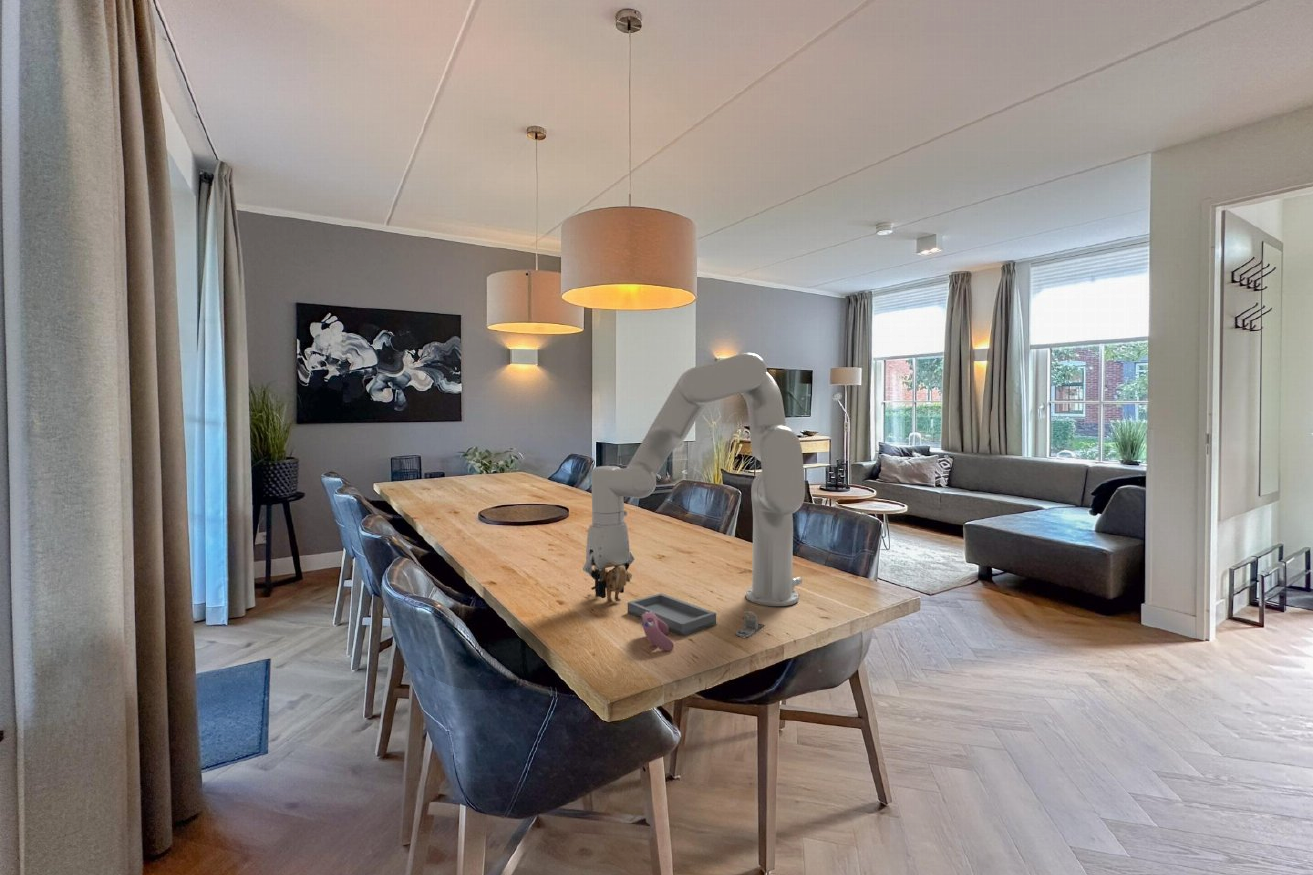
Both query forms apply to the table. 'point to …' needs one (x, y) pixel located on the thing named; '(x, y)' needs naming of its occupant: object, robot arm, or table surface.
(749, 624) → the strap clip
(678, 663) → the table surface
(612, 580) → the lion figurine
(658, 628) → the pink curved piece
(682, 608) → the slate tray
